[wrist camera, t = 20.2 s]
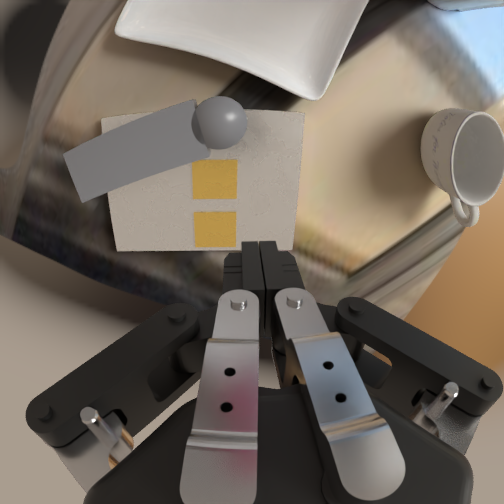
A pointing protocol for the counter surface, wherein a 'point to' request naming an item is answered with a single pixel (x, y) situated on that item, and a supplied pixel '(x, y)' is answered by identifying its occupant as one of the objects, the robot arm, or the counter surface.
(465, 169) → the teacup
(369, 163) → the counter surface
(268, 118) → the panel
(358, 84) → the counter surface
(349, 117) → the counter surface
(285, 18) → the salad plate
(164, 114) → the swing bar
